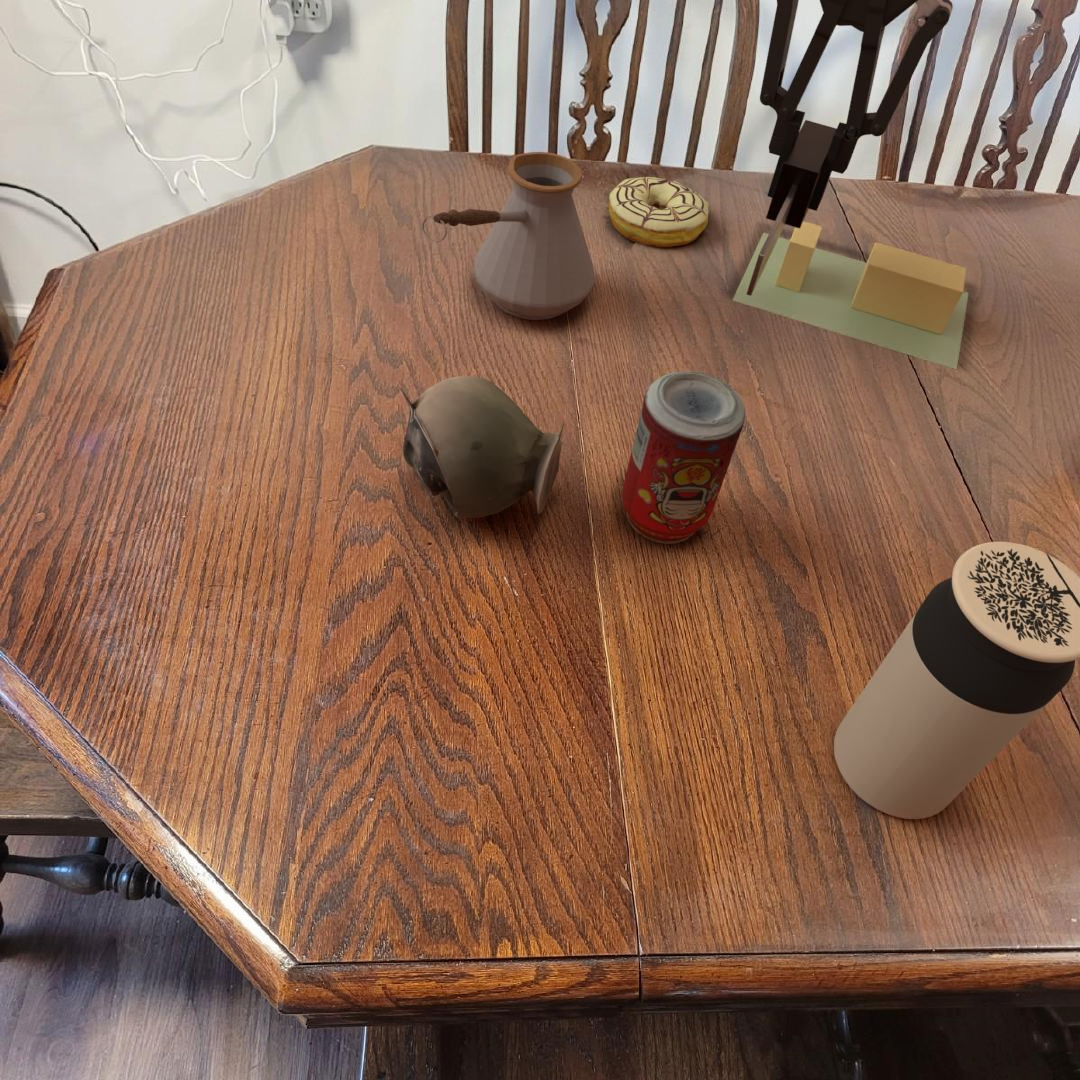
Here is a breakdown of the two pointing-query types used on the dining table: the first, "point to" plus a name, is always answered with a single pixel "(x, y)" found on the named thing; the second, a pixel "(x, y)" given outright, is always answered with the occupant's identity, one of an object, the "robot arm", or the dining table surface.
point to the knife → (795, 187)
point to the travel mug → (962, 679)
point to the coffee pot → (532, 240)
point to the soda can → (680, 454)
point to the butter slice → (798, 256)
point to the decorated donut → (657, 211)
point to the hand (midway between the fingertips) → (795, 196)
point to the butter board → (845, 305)
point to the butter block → (909, 288)
